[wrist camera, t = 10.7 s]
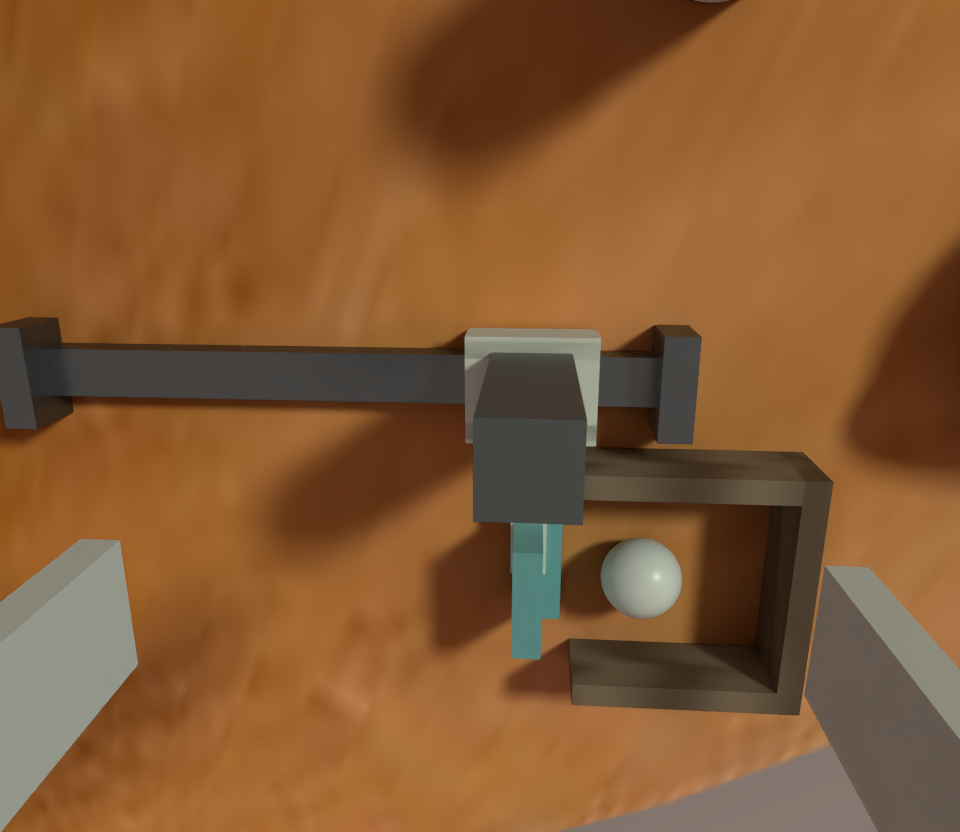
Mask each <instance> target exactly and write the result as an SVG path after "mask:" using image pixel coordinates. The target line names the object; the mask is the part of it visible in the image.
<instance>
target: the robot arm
mask: <svg viewBox="0 0 960 832" xmlns="http://www.w3.org/2000/svg"><path fill="white" fill-rule="evenodd" d="M137 665H138V661H137V654H136V647H135V641H134V634H133V627H132V621H131V614H130V607H129V600H128V594H127V587H126V580H125V574H124V567H123V560H122V554H121V547H120V540H95V539H80V540H79V541H78V542H76V543H75V544H74V545H72V546H71V547H70V548H69V549H67V550H66V551H65V552H64V553H62V554H61V555H60V556H58V557H57V558H56V559H55V560H53V561H52V562H51V563H50V564H48V565H47V566H46V567H44V568H43V569H42V570H41V571H39V572H38V573H37V574H36V575H34V576H33V577H32V578H30V579H29V580H28V581H27V582H25V583H24V584H23V585H22V586H20V587H19V588H18V589H16V590H15V591H14V592H13V593H11V594H10V595H9V596H8V597H6V598H5V599H4V600H2V601H1V602H0V832H1V831H2V830H3V829H4V827H5V826H6V825H7V824H8V823H9V821H10V820H11V819H12V818H13V816H14V815H15V814H16V813H17V812H18V810H19V809H20V808H21V807H22V805H23V804H24V803H25V802H26V801H27V799H28V798H29V797H30V796H31V794H32V793H33V792H34V791H35V790H36V788H37V787H38V786H39V785H40V783H41V782H42V781H43V780H44V779H45V777H46V776H47V775H48V774H49V773H50V771H51V770H52V769H53V768H54V766H55V765H56V764H57V763H58V762H59V760H60V759H61V758H62V757H63V755H64V754H65V753H66V752H67V751H68V749H69V748H70V747H71V746H72V744H73V743H74V742H75V741H76V740H77V738H78V737H79V736H80V735H81V733H82V732H83V731H84V730H85V729H86V727H87V726H88V725H89V724H90V722H91V721H92V720H93V719H94V718H95V716H96V715H97V714H98V713H99V711H100V710H101V709H102V708H103V707H104V705H105V704H106V703H107V702H108V700H109V699H110V698H111V697H112V696H113V694H114V693H115V692H116V691H117V689H118V688H119V687H120V686H121V685H122V683H123V682H124V681H125V680H126V678H127V677H128V676H129V675H130V674H131V672H132V671H133V670H134V669H135V667H136V666H137ZM805 697H806V699H807V701H808V703H809V704H810V706H811V708H812V710H813V712H814V714H815V716H816V717H817V719H818V721H819V723H820V725H821V727H822V729H823V730H824V732H825V734H826V736H827V738H828V740H829V741H830V743H831V745H832V747H833V749H834V751H835V753H836V754H837V756H838V758H839V760H840V762H841V764H842V766H843V767H844V769H845V771H846V773H847V775H848V777H849V779H850V780H851V782H852V784H853V786H854V788H855V790H856V791H857V793H858V795H859V797H860V799H861V801H862V802H863V805H864V806H865V808H866V810H867V812H868V814H869V816H870V818H871V819H872V821H873V823H874V825H875V827H876V829H877V831H878V832H960V670H959V669H958V667H957V666H956V665H955V664H954V663H953V662H952V661H951V660H950V658H949V657H948V656H947V655H946V654H945V653H944V652H943V651H942V649H941V648H940V647H939V646H938V645H937V644H936V643H935V641H934V640H933V639H932V638H931V637H930V636H929V635H928V634H927V632H926V631H925V630H924V629H923V628H922V627H921V626H920V625H919V623H918V622H917V621H916V620H915V619H914V618H913V617H912V616H911V614H910V613H909V612H908V611H907V610H906V609H905V608H904V607H903V605H902V604H901V603H900V602H899V601H898V600H897V599H896V598H895V596H894V595H893V594H892V593H891V592H890V591H889V590H888V589H887V587H886V586H885V585H884V584H883V583H882V582H881V581H880V580H879V578H878V577H877V576H876V575H875V574H874V573H873V572H872V571H871V569H870V568H869V567H847V566H825V569H824V575H823V581H822V588H821V594H820V600H819V606H818V613H817V619H816V625H815V632H814V638H813V644H812V651H811V657H810V663H809V669H808V676H807V682H806V688H805Z"/></svg>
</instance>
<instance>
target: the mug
mask: <svg viewBox="0 0 960 832" xmlns="http://www.w3.org/2000/svg"><path fill="white" fill-rule="evenodd" d="M695 1H699V2H706V3H717V2H725V1H729V0H695Z"/></svg>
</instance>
